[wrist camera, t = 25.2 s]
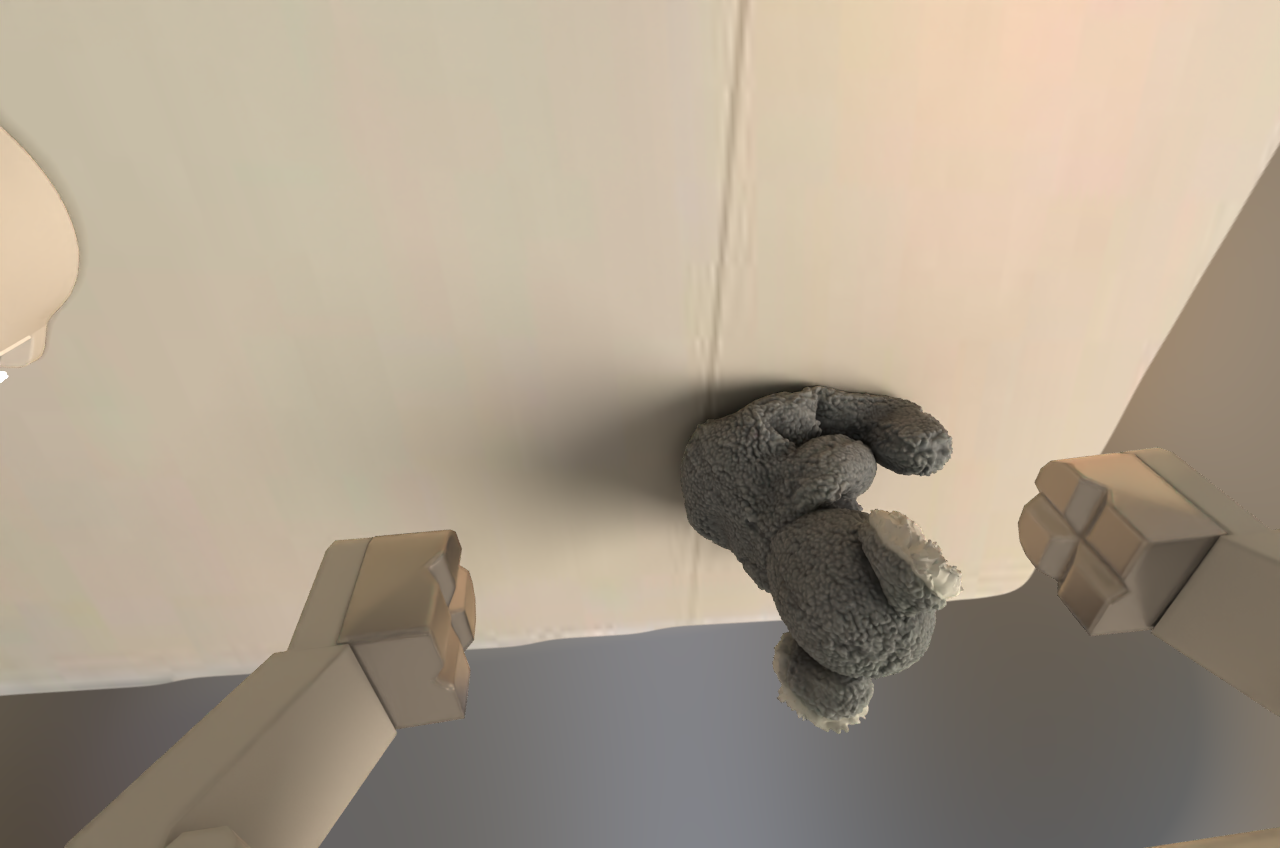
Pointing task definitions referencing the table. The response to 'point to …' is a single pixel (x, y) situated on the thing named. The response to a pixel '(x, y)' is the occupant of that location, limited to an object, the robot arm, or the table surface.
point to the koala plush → (825, 536)
